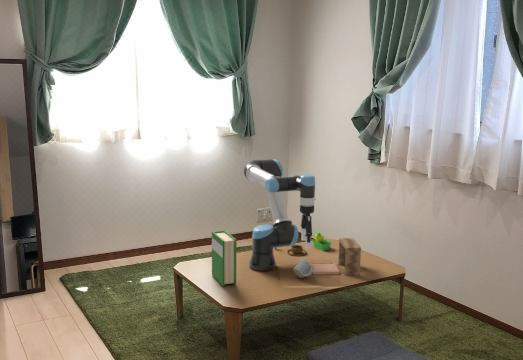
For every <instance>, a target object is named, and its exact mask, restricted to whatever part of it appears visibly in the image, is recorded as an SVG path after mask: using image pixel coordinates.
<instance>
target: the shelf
mask: <svg viewBox="0 0 523 360" xmlns="http://www.w3.org/2000/svg"><path fill="white" fill-rule="evenodd" d="M338 240H339V241H338V263H337V265H338V266H340V265H341V266H342V265H343V266H344V267H345V268H344V275H345V276H360V275H361V272H360V271H361V256H362V255H361V254H362V248H361V245H360V244H358V242H357V241H356V240H355V238H353V237H351V238H350V237H348V238H347V237H346V238H345V237H343V238H342V237H341V238H339V239H338Z"/></svg>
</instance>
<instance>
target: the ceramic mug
mask: <svg viewBox="0 0 523 360" xmlns="http://www.w3.org/2000/svg"><path fill="white" fill-rule="evenodd" d="M310 263H311V262H309V261H308V260H306V259H305V258H302V259H301V260H300V261H299V262H298V263H297V264H296V265H295V266H294V268H293V272H294V274H295V275H296V276H297V277H298V278H300V279H303V278H305V277H309V276H311V275H312V274H313V273H312V272H313V268H312V266H311V265H310Z"/></svg>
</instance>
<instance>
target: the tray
mask: <svg viewBox="0 0 523 360" xmlns="http://www.w3.org/2000/svg"><path fill="white" fill-rule="evenodd" d="M309 263H310V265H311V266H312V268H313V272H312V273H311V274H312V275H340V273H341V270H339V267H338V266H337V265H336V262H309Z"/></svg>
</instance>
